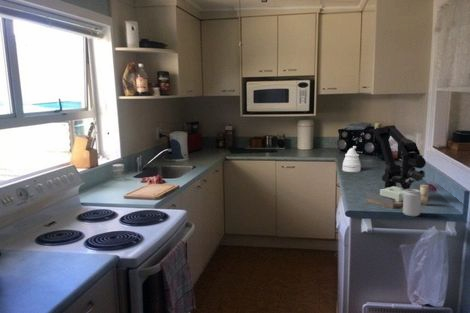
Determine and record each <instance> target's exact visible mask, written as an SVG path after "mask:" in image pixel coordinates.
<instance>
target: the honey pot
mask: <svg viewBox="0 0 470 313" xmlns="http://www.w3.org/2000/svg"><path fill="white" fill-rule="evenodd" d="M356 148H357V146H356V145H353V146H352V147H350V148H349V149H348V150H347V152H346V153H345V154H344V156H345V157H344V159H343V162H342V169H341V170H342V171H343V172H348V173H358V172H361V167H362V166H361V160H360V158H359V156H360V154H359V153H357V151H356Z"/></svg>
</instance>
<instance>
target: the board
mask: <svg viewBox="0 0 470 313" xmlns="http://www.w3.org/2000/svg"><path fill="white" fill-rule="evenodd" d="M365 195H366V198H365V201H366V202H369V203H370V204H376V205H379V206H383V207H386V208H388V209H396V208H399V207H403V201H399V202H398V201H395V199H393V198H389V197H385V196H381V195H380V194H376V193H372V192H366V194H365Z"/></svg>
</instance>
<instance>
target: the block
mask: <svg viewBox="0 0 470 313" xmlns="http://www.w3.org/2000/svg"><path fill="white" fill-rule="evenodd" d="M405 190H406V189H403V188H402V187H398V186H396V187H394V186H393V187H390V188H385V187H384V188H381V189H379V195H381V196H385V197H389V198H393V199H395V201H398V202H399V201H403V199H404V192H405Z"/></svg>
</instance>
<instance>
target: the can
mask: <svg viewBox="0 0 470 313" xmlns="http://www.w3.org/2000/svg"><path fill="white" fill-rule="evenodd" d="M421 206H422V205H421V193H420V189H417V188H409V189H406V190H405V192H404V199H403V206H402V213H403V214H404V215H405V216H407V217H411V218H413V217H418V216H420V215H421V209H422V208H421Z"/></svg>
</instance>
